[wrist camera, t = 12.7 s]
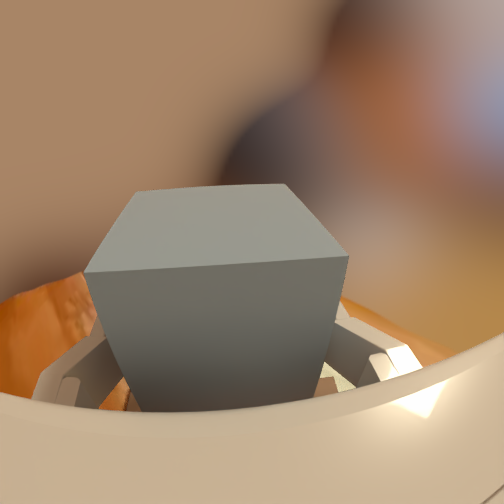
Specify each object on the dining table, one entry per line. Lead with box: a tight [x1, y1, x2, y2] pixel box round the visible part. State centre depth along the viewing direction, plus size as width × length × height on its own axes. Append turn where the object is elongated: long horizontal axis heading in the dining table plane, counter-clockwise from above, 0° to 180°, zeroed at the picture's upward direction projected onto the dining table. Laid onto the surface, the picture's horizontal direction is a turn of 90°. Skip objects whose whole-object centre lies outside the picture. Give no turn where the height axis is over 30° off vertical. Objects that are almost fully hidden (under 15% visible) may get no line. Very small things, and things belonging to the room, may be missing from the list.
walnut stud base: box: [126, 377, 338, 412], centre depth 16 cm, size 20×20×7 cm
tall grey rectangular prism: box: [84, 184, 349, 412], centre depth 10 cm, size 5×5×10 cm
